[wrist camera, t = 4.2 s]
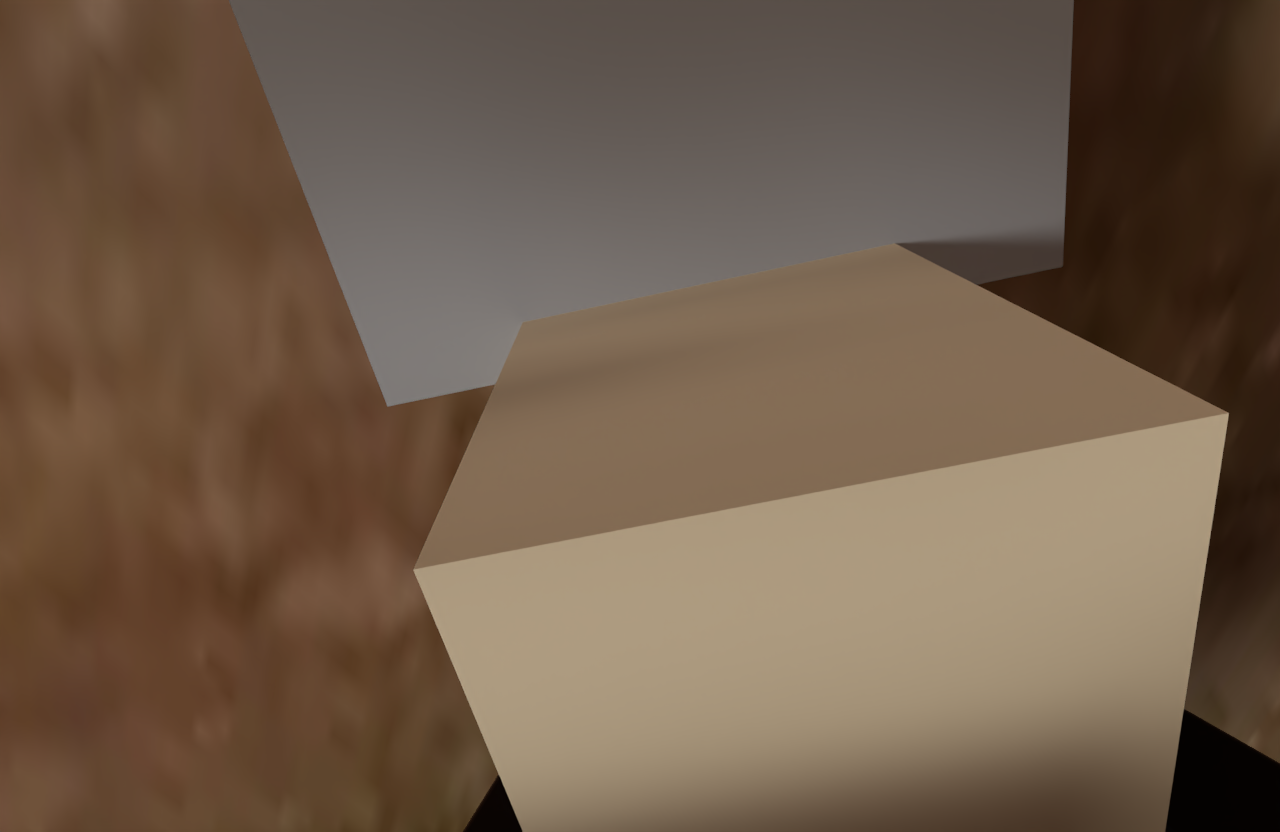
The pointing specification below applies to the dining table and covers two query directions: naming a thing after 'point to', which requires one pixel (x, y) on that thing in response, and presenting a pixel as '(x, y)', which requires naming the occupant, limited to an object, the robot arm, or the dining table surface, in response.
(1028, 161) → the two-tone stacked block
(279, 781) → the dining table surface
